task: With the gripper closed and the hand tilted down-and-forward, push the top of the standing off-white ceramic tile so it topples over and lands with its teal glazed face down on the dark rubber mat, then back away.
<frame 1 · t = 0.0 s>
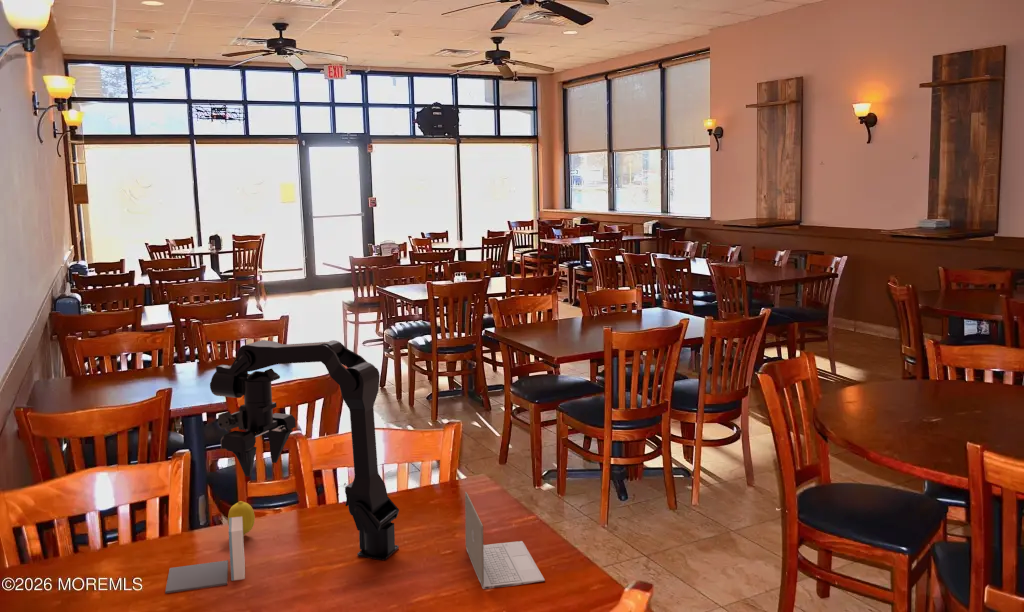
hand: (261, 469, 179), 15 cm above the table, tool pointing down, fingers open, 9 cm apart
laptop: (503, 567, 166), on the table
lemon: (242, 537, 179), on the table
tile: (238, 571, 163), on the table
mat: (198, 577, 161), on the table
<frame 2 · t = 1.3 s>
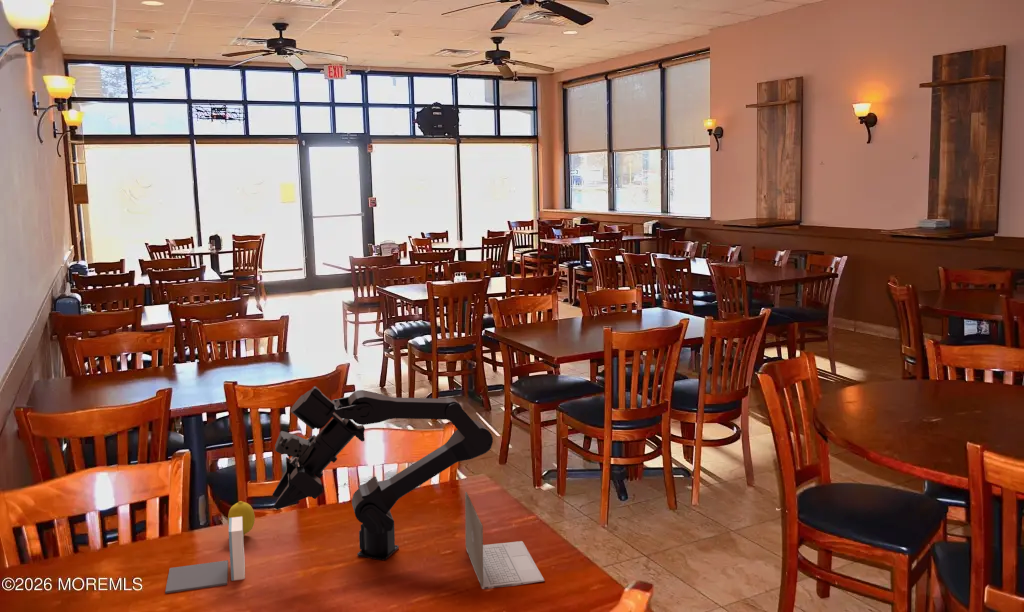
hand: (274, 502, 163), 14 cm above the table, tool tilted 45°, fingers open, 6 cm apart
nothing on the table moved.
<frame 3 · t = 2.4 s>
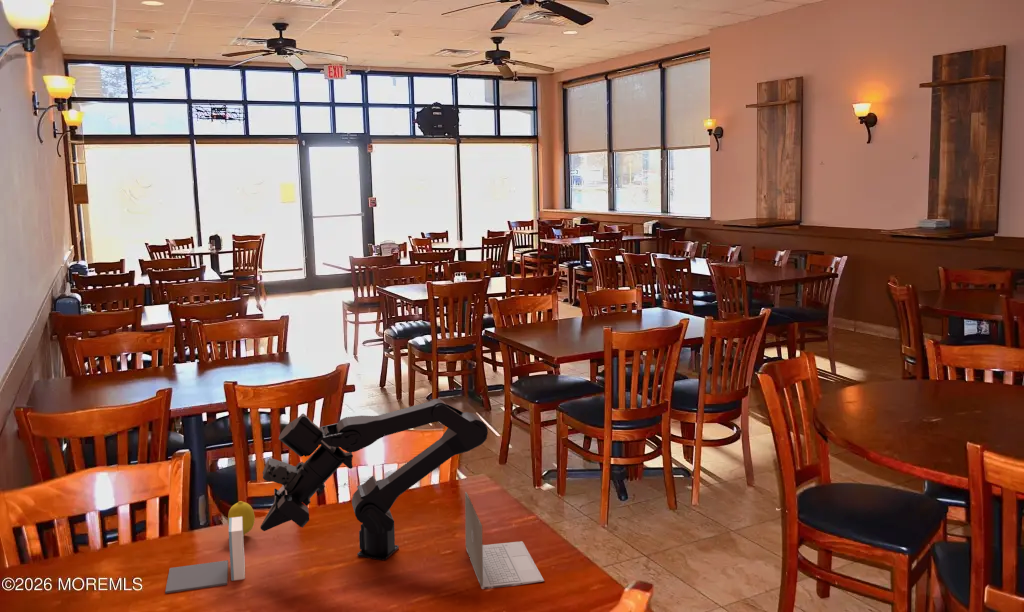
hand: (262, 529, 163), 8 cm above the table, tool tilted 45°, fingers closed
nothing on the table moved.
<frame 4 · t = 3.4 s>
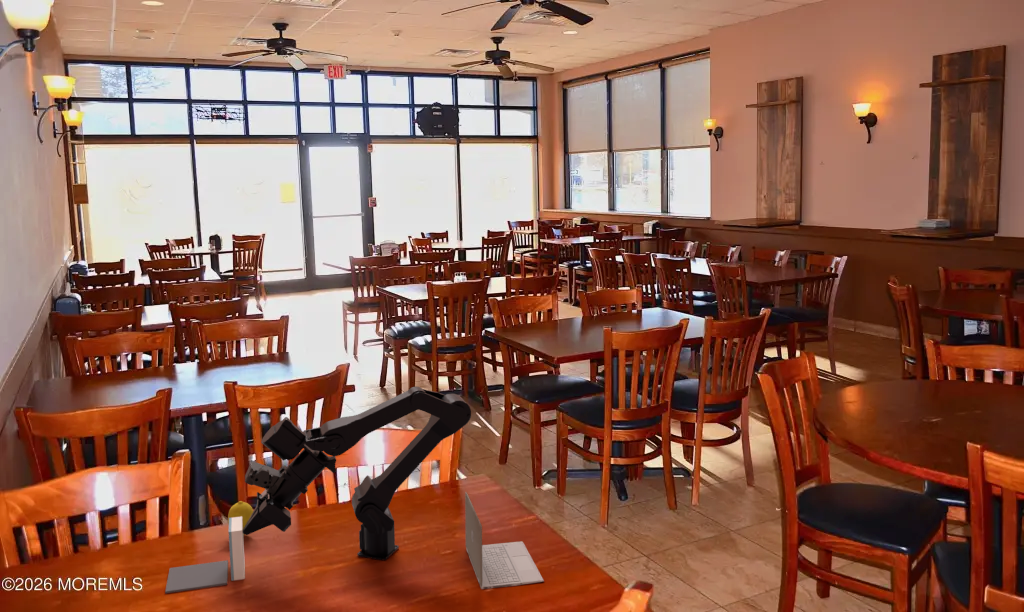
hand: (244, 533, 162), 8 cm above the table, tool tilted 45°, fingers closed, pressing on tile
tile: (238, 571, 163), on the table, touching gripper
everything else where it was.
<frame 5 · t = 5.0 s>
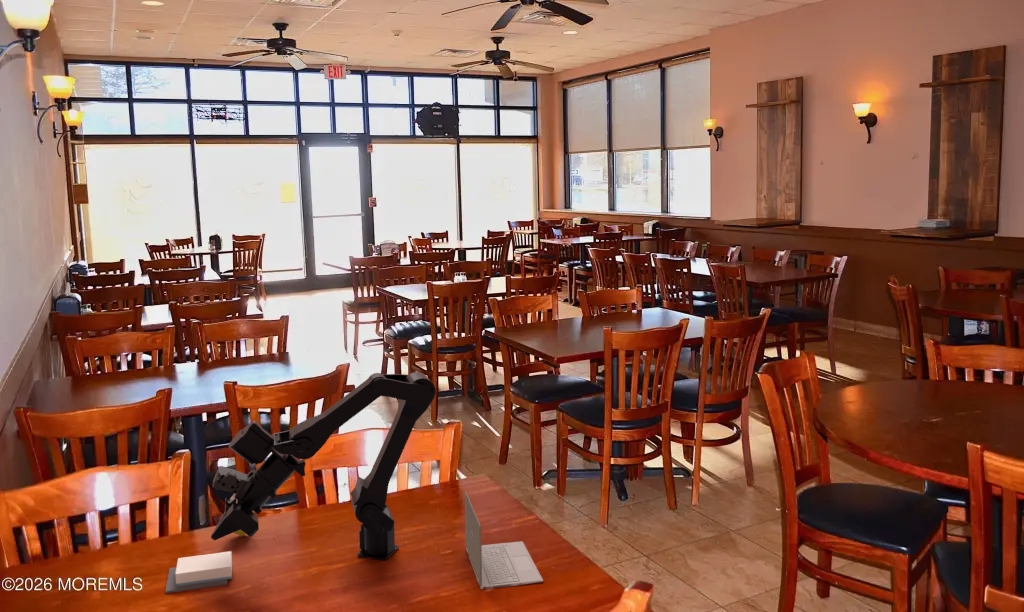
hand: (212, 538, 161), 8 cm above the table, tool tilted 45°, fingers closed
tile: (231, 564, 162), point 2 cm above the table, tilted 90°, touching mat
everything else where it was.
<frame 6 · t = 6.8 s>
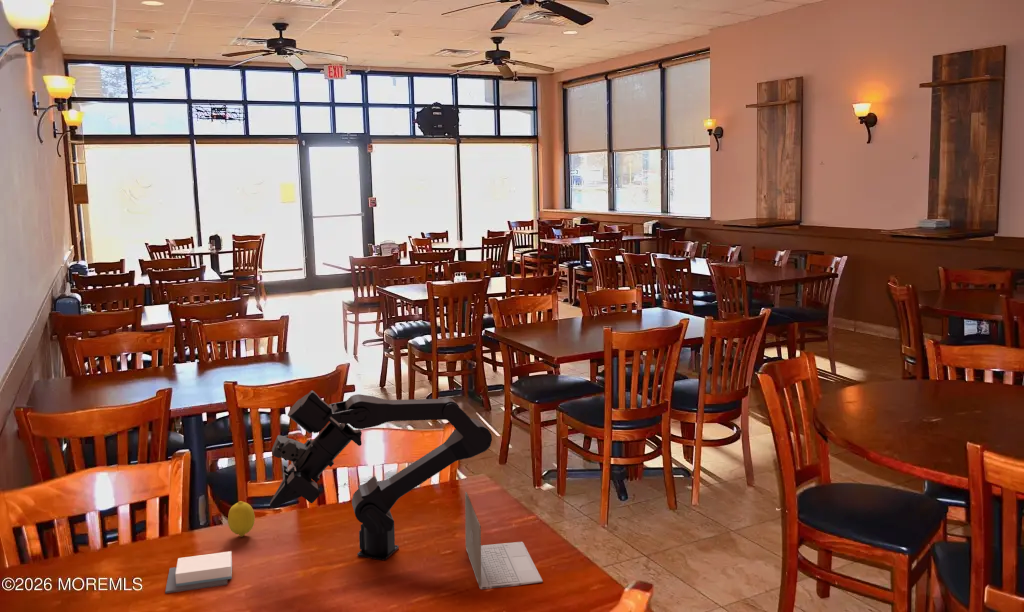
hand: (271, 506, 163), 13 cm above the table, tool tilted 45°, fingers closed
nothing on the table moved.
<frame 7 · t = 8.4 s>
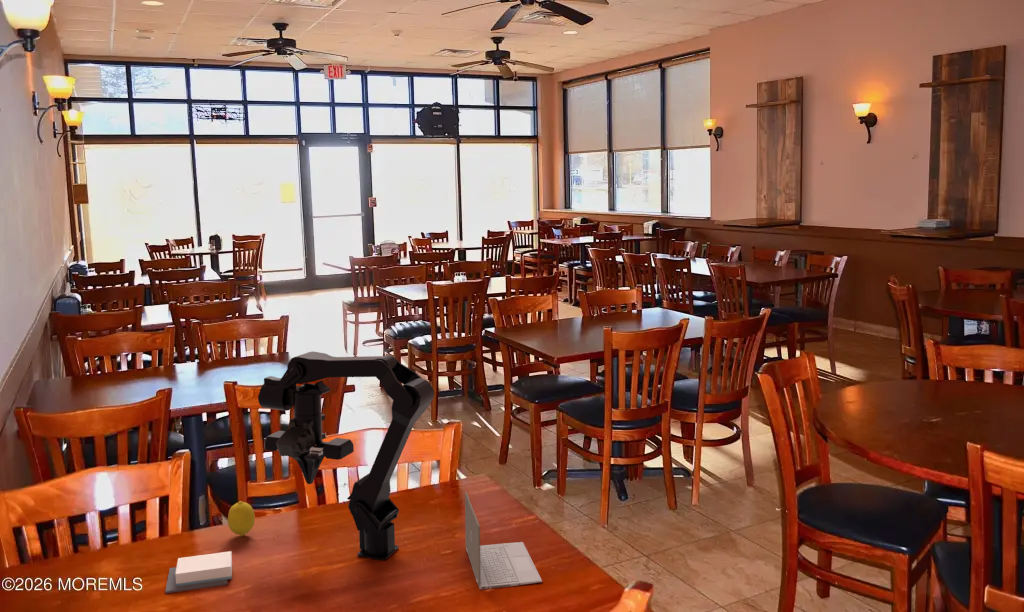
hand: (309, 483, 175), 13 cm above the table, tool pointing down, fingers closed
nothing on the table moved.
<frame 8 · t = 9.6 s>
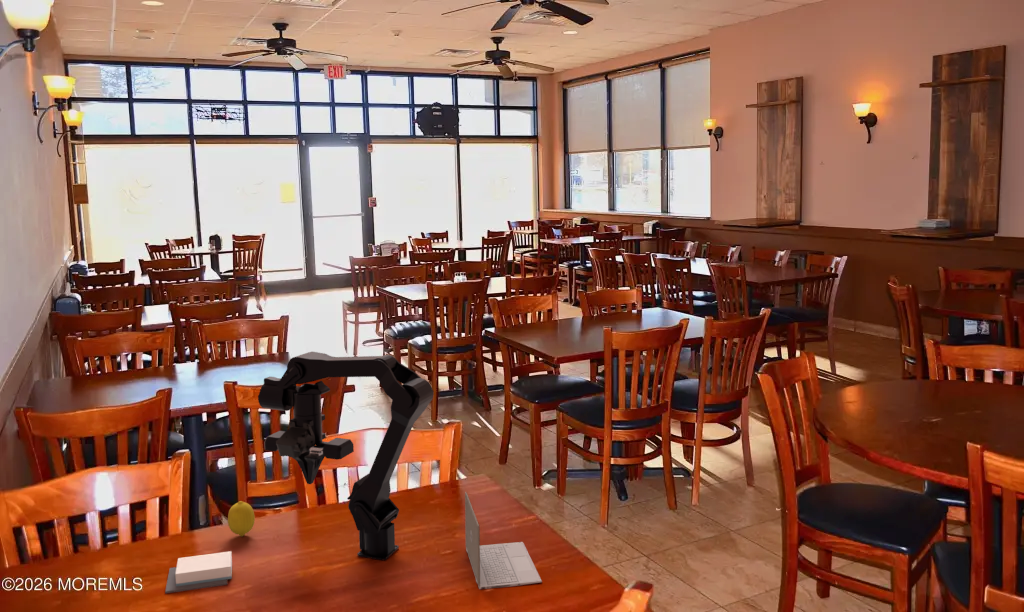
hand: (310, 483, 175), 13 cm above the table, tool pointing down, fingers closed
nothing on the table moved.
at the end: tile tilted 90°; tile 6.3 cm from the mat (horizontally); tile point 1.6 cm above the table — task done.
